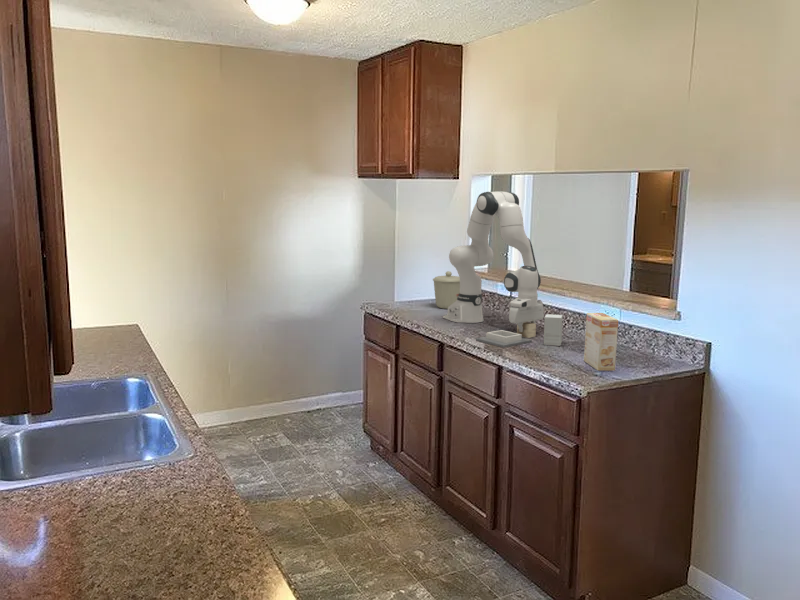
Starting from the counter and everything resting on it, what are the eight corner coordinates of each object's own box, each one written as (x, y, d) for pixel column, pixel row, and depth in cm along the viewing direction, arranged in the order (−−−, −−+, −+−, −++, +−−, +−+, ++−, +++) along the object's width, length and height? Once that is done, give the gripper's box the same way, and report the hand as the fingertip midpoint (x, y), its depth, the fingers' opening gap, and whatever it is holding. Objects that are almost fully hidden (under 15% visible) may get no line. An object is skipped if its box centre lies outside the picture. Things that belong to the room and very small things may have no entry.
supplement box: (561, 342, 293) (563, 314, 291) (560, 346, 286) (561, 317, 284) (545, 341, 295) (546, 313, 293) (542, 345, 288) (544, 316, 286)
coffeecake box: (615, 370, 247) (619, 319, 244) (597, 371, 246) (600, 319, 243) (600, 360, 262) (603, 312, 258) (583, 361, 261) (585, 312, 258)
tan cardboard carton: (516, 335, 307) (517, 322, 306) (524, 333, 310) (524, 321, 310) (528, 337, 302) (528, 325, 301) (535, 336, 305) (536, 323, 304)
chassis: (475, 340, 296) (476, 332, 295) (503, 335, 306) (504, 328, 306) (503, 347, 282) (503, 339, 282) (531, 342, 293) (532, 334, 293)
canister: (429, 305, 388) (430, 269, 384) (460, 304, 390) (461, 269, 386) (434, 310, 370) (435, 273, 367) (466, 310, 372) (467, 273, 369)
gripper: (537, 298, 312) (536, 327, 315) (507, 302, 300) (506, 332, 302) (547, 300, 307) (546, 329, 310) (517, 304, 295) (516, 334, 297)
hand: (526, 330), depth 306 cm, fingers closed on tan cardboard carton, 5 cm apart
